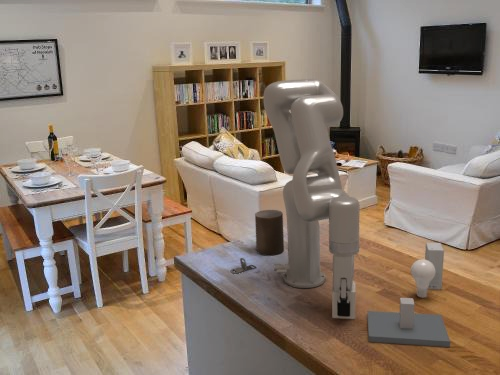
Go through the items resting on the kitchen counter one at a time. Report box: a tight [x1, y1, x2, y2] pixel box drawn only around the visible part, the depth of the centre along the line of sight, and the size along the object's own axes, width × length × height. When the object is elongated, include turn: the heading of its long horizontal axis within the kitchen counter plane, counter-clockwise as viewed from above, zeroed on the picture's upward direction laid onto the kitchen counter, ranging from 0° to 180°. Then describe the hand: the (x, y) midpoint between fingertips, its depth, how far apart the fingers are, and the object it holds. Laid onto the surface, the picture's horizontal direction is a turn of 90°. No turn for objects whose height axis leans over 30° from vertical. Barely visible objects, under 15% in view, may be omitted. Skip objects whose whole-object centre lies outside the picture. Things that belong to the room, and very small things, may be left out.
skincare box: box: [424, 242, 445, 291], centre depth 142 cm, size 6×4×12 cm
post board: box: [366, 297, 451, 348], centre depth 120 cm, size 18×12×8 cm, turn 79°
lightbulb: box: [410, 258, 436, 299], centre depth 135 cm, size 6×6×11 cm
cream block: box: [331, 281, 356, 320], centre depth 129 cm, size 6×6×8 cm
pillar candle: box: [254, 209, 285, 257], centre depth 172 cm, size 10×10×15 cm
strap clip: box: [230, 257, 257, 275], centre depth 159 cm, size 8×3×4 cm, turn 122°
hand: (343, 308), depth 130 cm, fingers closed on cream block, 5 cm apart
